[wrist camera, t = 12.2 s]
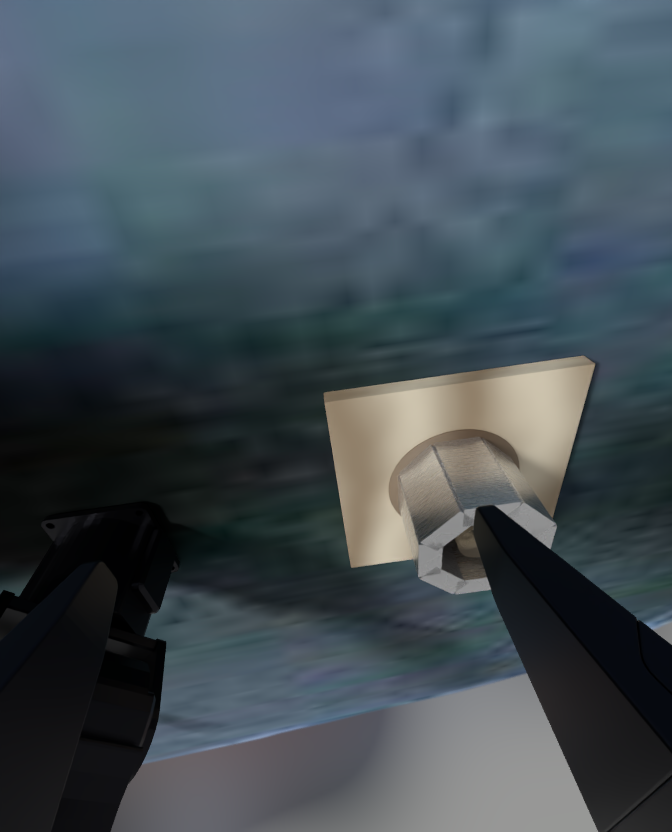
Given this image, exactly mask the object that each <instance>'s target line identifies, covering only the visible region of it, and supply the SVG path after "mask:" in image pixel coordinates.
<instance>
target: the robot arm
mask: <svg viewBox="0 0 672 832" xmlns="http://www.w3.org/2000/svg"><path fill="white" fill-rule="evenodd" d="M41 526H42V527H43V529H44V530H45V531H46V532H47V534H48V535H49V536H50V537H51V539H52V540H53V541H54V542H53V544H52V545H51V547H50V548H49V550H48V552H47V553H46V555H45V556H44V558H43V560H42V561H41V563H40V564H39V566H38V568H37V569H36V571H35V572H34V574H33V575H32V577H31V579H30V580H29V582H28V583H27V585H26V587H25V588H24V590H23V591H22V593H21V595H20V596H19V597H17V596H14V595H15V593H12V592H9V591H5V590H3V592H2V593H1V594H0V832H110V831H111V828H112V825H113V822H114V819H115V816H116V813H117V811H118V808H119V805H120V802H121V800H122V797H123V795H124V792H125V790H126V787H127V785H128V784H129V782H130V781H131V780H132V779H133V778H134V776H135V775H136V773H137V772H138V770H139V768H140V767H141V765H142V763H143V761H144V759H145V757H146V755H147V752H148V750H149V747H150V745H151V742H152V739H153V736H154V733H155V730H156V726H157V722H158V718H159V711H160V702H161V692H162V682H163V672H164V662H165V652H166V641H163V640H160V639H156V640H154V639H151V638H148V637H144V635H145V632H146V629H147V626H148V623H149V620H150V616H151V614H153V613H157V612H158V611H159V609H160V607H161V604H162V601H163V597H164V594H165V591H166V587H167V584H168V581H169V577H170V574H171V573H172V572H176V571H178V569H179V566H180V562H179V560H178V558H177V556H176V552H175V551H174V549H173V547H172V545H171V543H170V542H169V540H168V538H167V536H166V534H165V532H164V531H163V530H162V529H161V527H160V525H159V524H158V522H157V520H156V518H155V516H154V514H153V513H152V511H151V509H150V507H149V506H148V505H146V504H144V503H134V504H127V505H120V506H113V507H105V508H98V509H91V510H84V511H77V512H70V513H63V514H56V515H49V516H47V517H45V519H44V520H43V522H42V523H41ZM473 534H474V539H475V542H476V545H477V548H478V551H479V554H480V557H481V560H482V563H483V567H484V570H485V573H486V576H487V579H488V582H489V585H490V588H491V591H492V594H493V597H494V600H495V602H496V605H497V607H498V609H499V612H500V614H501V616H502V618H503V621H504V623H505V625H506V627H507V629H508V632H509V634H510V636H511V638H512V641H513V643H514V645H515V647H516V650H517V652H518V654H519V656H520V658H521V661H522V663H523V665H524V667H525V670H526V672H527V674H528V676H529V678H530V681H531V683H532V685H533V687H534V690H535V692H536V694H537V696H538V698H539V701H540V703H541V705H542V707H543V710H544V712H545V714H546V716H547V718H548V720H549V723H550V725H551V727H552V730H553V732H554V734H555V736H556V738H557V741H558V743H559V745H560V747H561V749H562V752H563V754H564V756H565V759H566V760H567V763H568V765H569V767H570V770H571V772H572V774H573V776H574V779H575V781H576V783H577V785H578V787H579V790H580V792H581V794H582V796H583V799H584V801H585V803H586V805H587V808H588V810H589V812H590V814H591V816H592V819H593V821H594V823H595V825H596V827H597V830H598V832H672V645H671V644H670V643H668V642H667V641H666V640H665V639H663V638H662V637H661V636H659V635H658V634H657V633H656V632H654V631H653V630H652V629H650V628H649V627H648V626H647V625H645V624H644V623H643V622H642V621H640V620H638V621H637V618H636V617H635V616H634V615H633V614H631V613H630V612H629V611H628V610H626V609H625V608H624V607H623V606H621V605H620V604H619V603H617V602H616V601H615V600H614V599H612V598H611V597H610V596H609V595H607V594H606V593H605V592H604V591H602V590H601V589H600V588H599V587H597V586H596V585H595V584H593V583H592V582H591V581H590V580H588V579H587V578H586V577H585V576H583V575H582V574H581V573H580V572H578V571H577V570H576V569H575V568H573V567H572V566H571V565H570V564H568V563H567V562H566V561H564V560H563V559H562V558H561V557H559V556H558V555H557V554H556V553H554V552H553V551H552V550H551V549H549V548H548V547H547V546H546V545H544V544H543V543H542V542H541V541H539V540H538V539H537V538H535V537H534V536H533V535H532V534H530V533H529V532H528V531H527V530H525V529H524V528H523V527H522V526H520V525H519V524H518V523H517V522H515V521H514V520H513V519H512V518H510V517H509V516H508V515H506V514H505V513H504V512H503V511H501V510H500V509H499V508H498V507H496V506H494V505H485V506H478V507H477V508H476V510H475V516H474V525H473Z"/></svg>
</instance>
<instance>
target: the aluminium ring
mask: <svg viewBox="0 0 672 832" xmlns="http://www.w3.org/2000/svg"><path fill="white" fill-rule="evenodd" d="M485 505H494V506H496V507H498V508H499V509H500V510H501V511H503V512H504V513H505V514H506V515H508V516H509V517H510V518H512V519H513V520H514V521H515V522H517V523H518V524H519V525H520V526H522V527H523V528H524V529H525V530H527V531H528V532H529V533H530V534H532V535H533V536H534V537H535V538H537V539H538V540H539V541H541V542H542V543H543V544H544V545H546V546H547V547H548V548H549V549H550V548H551V545H552V541H553V538H554V535H555V531H556V528H557V526H556V523H555V521H554V520H553V519H552V517H551V516H550V514H549V513H548V511H547V510H546V508H545V507H544V505H543V504H542V503H541V501H540V500H539V498H538V497H537V495H536V494H535V492H534V491H533V489H532V488H531V487H530V485H529V484H528V482H527V481H526V479H525V478H524V476H523V475H522V473H521V472H520V471H519V469H518V468H517V466H516V465H515V463H514V462H513V460H512V459H511V458H510V457H509V456H508V455H506V454H505V453H504V452H502V451H501V450H499V449H498V448H497V447H495V446H494V445H493V444H491V443H490V442H489V441H487V440H486V439H485V438H483V437H482V438H480V437H473V438H465V439H458V440H451V441H443V442H436V443H434V446H432V445H431V444H430V445H429V446H428V447H427V448H426V449H425V450H424V451H422V452H421V453H420V454H419V455H418V456H417V457H416V458H415V459H414V460H412V461H411V462H410V463H409V464H408V465H407V466H406V467H405V468H404V469H403V470H401V471H400V472H399V475H398V506H399V510H400V513H401V517H402V520H403V524H404V527H405V531H406V535H407V538H408V542H409V545H410V549H411V553H412V556H413V560H414V563H415V567H416V570H417V574H418V577H419V578H420V579H421V580H423V581H425V582H428V583H430V584H432V585H434V586H436V587H438V588H441V589H443V590H445V591H447V592H449V593H451V594H453V593H455V594H462V593H469V592H477V591H484V590H491V588H490V585H489V582H488V579H487V576H486V573H485V570H484V567H483V563H482V560H481V557H475V558H473V557H467V556H465V555H463V554H462V553H461V552H460V551H459V549H458V546H457V544H456V541H455V539H454V538H455V537H457V536H458V535H459V534H461V533H462V532H463V531H465V530H466V529H467V528H469V527H470V526H473V525H474V516H475V510H476V508H477V507H478V506H485Z"/></svg>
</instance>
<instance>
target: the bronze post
mask: <svg viewBox="0 0 672 832" xmlns="http://www.w3.org/2000/svg"><path fill="white" fill-rule="evenodd" d="M454 539H455V541H456V544H457V546H458V549H459V551H460V552H461V553H462V554H463V555H465V556H467V557H473V558H475V557H480V554H479V551H478V548H477V545H476V542H475V539H474V534H473V526H470V527H469V528H467V529H466V530H465V531H463V532H462V533H461V534H459V535H458V536H457V537H455V538H454Z"/></svg>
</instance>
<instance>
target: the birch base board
mask: <svg viewBox="0 0 672 832" xmlns="http://www.w3.org/2000/svg"><path fill="white" fill-rule="evenodd" d="M594 367H595V363H593V362H592V361H590V360H589V359H588V358H586V357H585V356H577V357H570V358H563V359H556V360H549V361H542V362H535V363H528V364H521V365H514V366H507V367H500V368H493V369H486V370H479V371H472V372H465V373H458V374H451V375H444V376H437V377H430V378H423V379H416V380H409V381H402V382H395V383H388V384H381V385H374V386H367V387H360V388H353V389H346V390H339V391H332V392H325V393H324V401H325V408H326V414H327V421H328V427H329V433H330V439H331V445H332V452H333V458H334V464H335V470H336V477H337V483H338V489H339V495H340V502H341V508H342V514H343V520H344V527H345V533H346V539H347V545H348V552H349V558H350V564H351V568H353V567H360V566H367V565H375V564H382V563H389V562H396V561H403V560H410V559H413V556H412V553H411V549H410V545H409V542H408V538H407V535H406V531H405V527H404V524H403V520H402V517H401V513H400V510H399V506H398V475H399V472H400V471H401V470H403V469H404V468H405V467H406V466H407V465H408V464H409V463H410V462H411V461H412V460H414V459H415V458H416V457H417V456H418V455H419V454H420V453H421V452H422V451H424V450H425V449H426V448H427V447H428V446H429V445H430V444H431V445H432V446H434V443H436V442H443V441H451V440H458V439H465V438H473V437H480V438H482V437H483V438H485V439H486V440H487V441H489V442H490V443H491V444H493V445H494V446H495V447H497V448H498V449H499V450H501V451H502V452H504V453H505V454H506V455H508V456H509V457H510V458H511V459H512V460H513V462H514V463H515V465H516V466H517V468H518V469H519V471H520V472H521V473H522V475H523V476H524V478H525V479H526V481H527V482H528V484H529V485H530V487H531V488H532V489H533V491H534V492H535V494H536V495H537V497H538V498H539V500H540V501H541V503H542V504H543V505H544V507H545V508H546V510H547V511H548V513H549V514H550V516H551V517H552V518H553V515H554V511H555V507H556V504H557V500H558V497H559V493H560V489H561V486H562V482H563V479H564V475H565V471H566V468H567V464H568V461H569V457H570V453H571V450H572V446H573V443H574V439H575V435H576V432H577V428H578V424H579V421H580V417H581V414H582V410H583V406H584V403H585V399H586V396H587V392H588V388H589V385H590V381H591V378H592V374H593V370H594Z"/></svg>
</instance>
